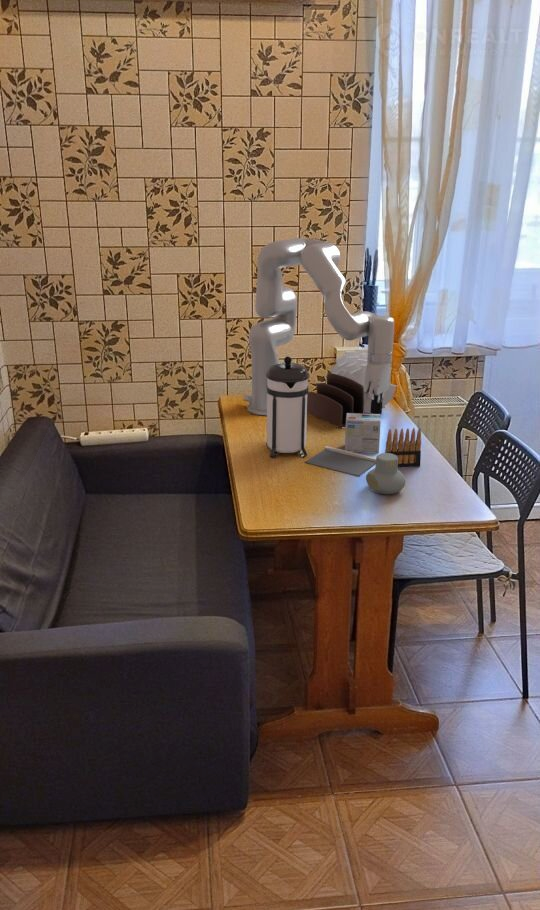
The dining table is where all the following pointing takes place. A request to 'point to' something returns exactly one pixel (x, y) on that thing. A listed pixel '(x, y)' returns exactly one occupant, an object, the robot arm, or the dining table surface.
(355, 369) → the spiral staircase
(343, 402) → the letter holder
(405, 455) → the ammunition clip
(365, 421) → the light bulb box
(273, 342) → the robot arm
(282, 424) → the coffee press
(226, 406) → the dining table surface
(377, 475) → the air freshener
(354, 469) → the mat
